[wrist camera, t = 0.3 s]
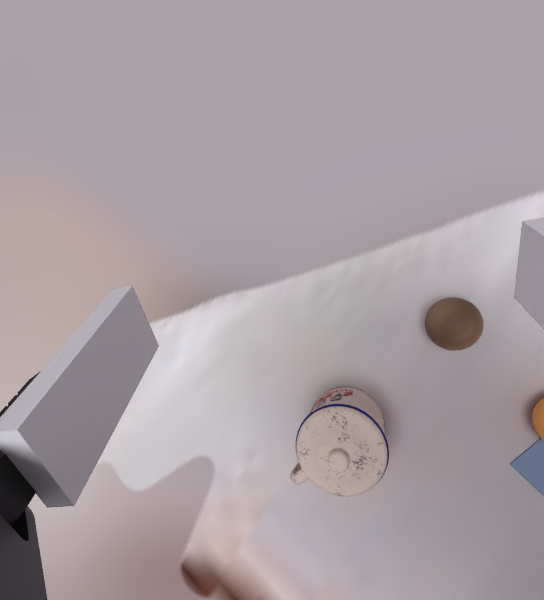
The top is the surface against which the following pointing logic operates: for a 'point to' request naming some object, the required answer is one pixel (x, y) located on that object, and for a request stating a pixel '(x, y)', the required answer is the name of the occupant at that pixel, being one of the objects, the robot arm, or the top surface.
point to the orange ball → (539, 418)
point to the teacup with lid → (342, 443)
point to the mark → (532, 465)
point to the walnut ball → (454, 324)
